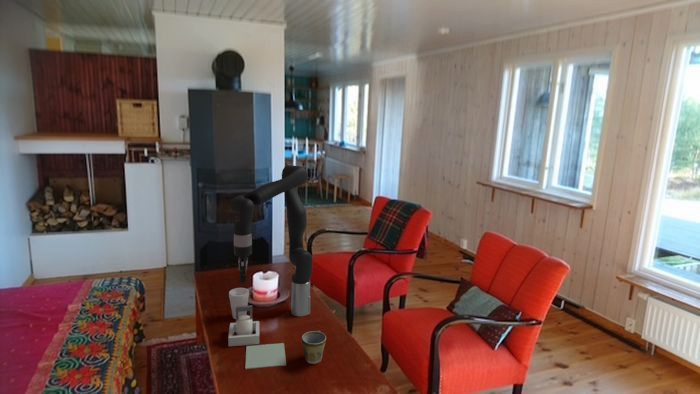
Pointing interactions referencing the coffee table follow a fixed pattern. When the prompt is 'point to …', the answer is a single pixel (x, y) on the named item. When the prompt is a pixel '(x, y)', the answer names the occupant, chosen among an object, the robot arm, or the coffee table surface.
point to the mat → (265, 356)
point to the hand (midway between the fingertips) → (243, 279)
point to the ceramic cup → (313, 346)
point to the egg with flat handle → (244, 321)
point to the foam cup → (238, 300)
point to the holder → (243, 336)
